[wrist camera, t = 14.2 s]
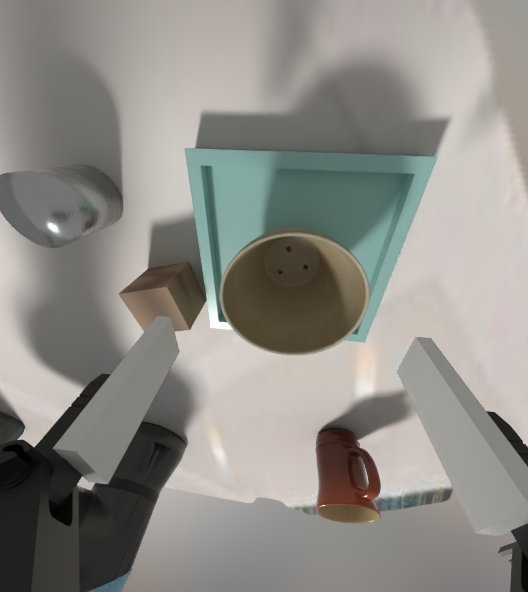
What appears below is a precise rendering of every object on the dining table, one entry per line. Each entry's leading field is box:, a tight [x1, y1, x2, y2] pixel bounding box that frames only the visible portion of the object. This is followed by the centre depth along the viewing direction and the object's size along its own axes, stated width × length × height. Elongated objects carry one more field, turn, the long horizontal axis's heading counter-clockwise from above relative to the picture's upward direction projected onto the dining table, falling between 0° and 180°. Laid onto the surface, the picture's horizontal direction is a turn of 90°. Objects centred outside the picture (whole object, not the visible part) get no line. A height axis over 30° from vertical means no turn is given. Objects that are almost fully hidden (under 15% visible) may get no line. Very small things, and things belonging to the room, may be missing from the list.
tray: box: [185, 148, 437, 342], centre depth 21 cm, size 17×17×2 cm
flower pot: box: [219, 227, 370, 355], centre depth 18 cm, size 10×10×7 cm
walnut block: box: [119, 262, 206, 332], centre depth 23 cm, size 5×5×5 cm
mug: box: [316, 429, 381, 523], centre depth 35 cm, size 12×9×10 cm
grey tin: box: [0, 165, 123, 248], centre depth 18 cm, size 5×5×6 cm
